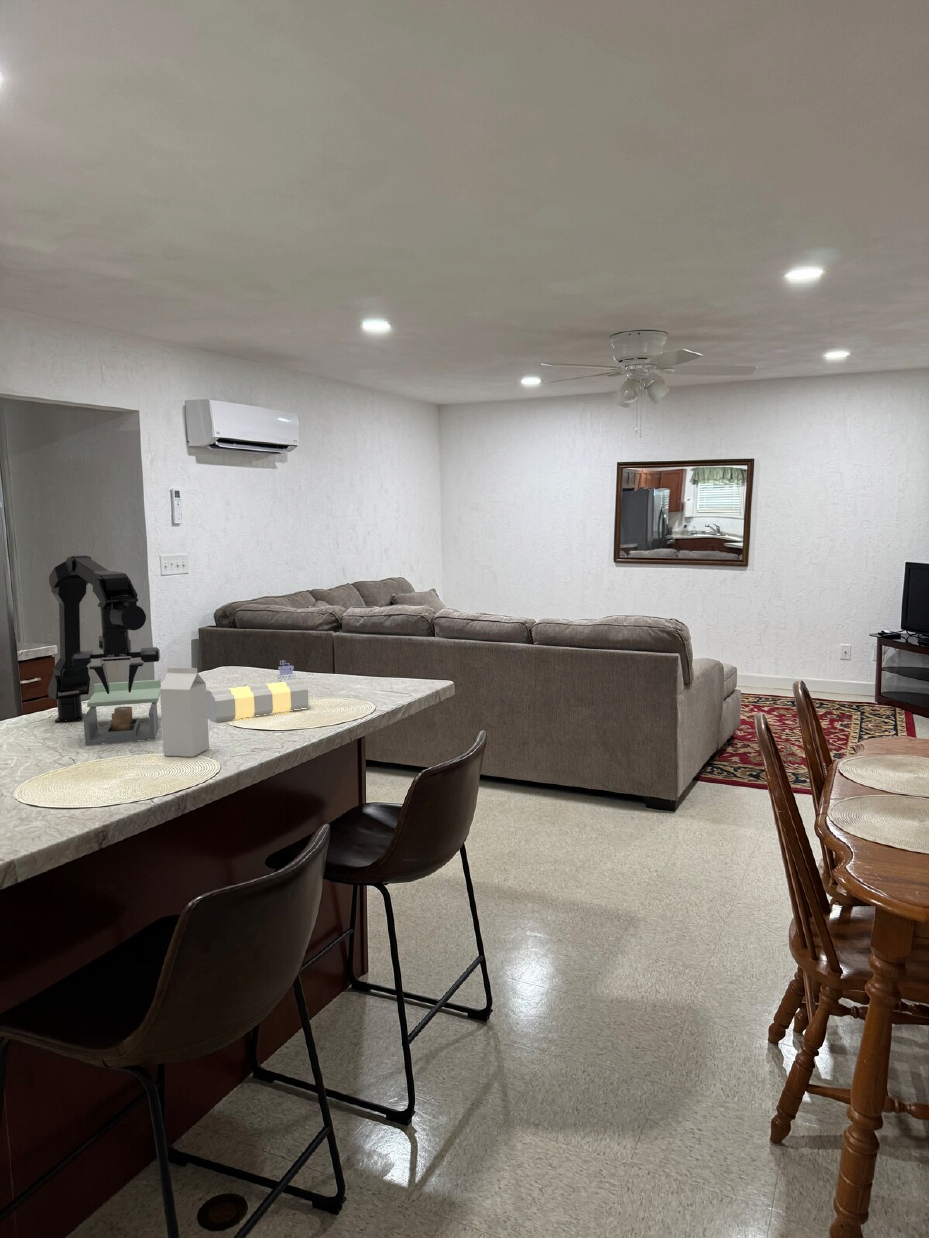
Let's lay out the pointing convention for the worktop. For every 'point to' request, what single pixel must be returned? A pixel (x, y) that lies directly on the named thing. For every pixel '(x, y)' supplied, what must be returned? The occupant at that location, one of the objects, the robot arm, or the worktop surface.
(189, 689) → the milk carton
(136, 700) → the lid
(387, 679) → the worktop surface
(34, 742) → the worktop surface
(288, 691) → the yellow banded gray prism
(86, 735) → the housing
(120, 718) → the brown sleeve
